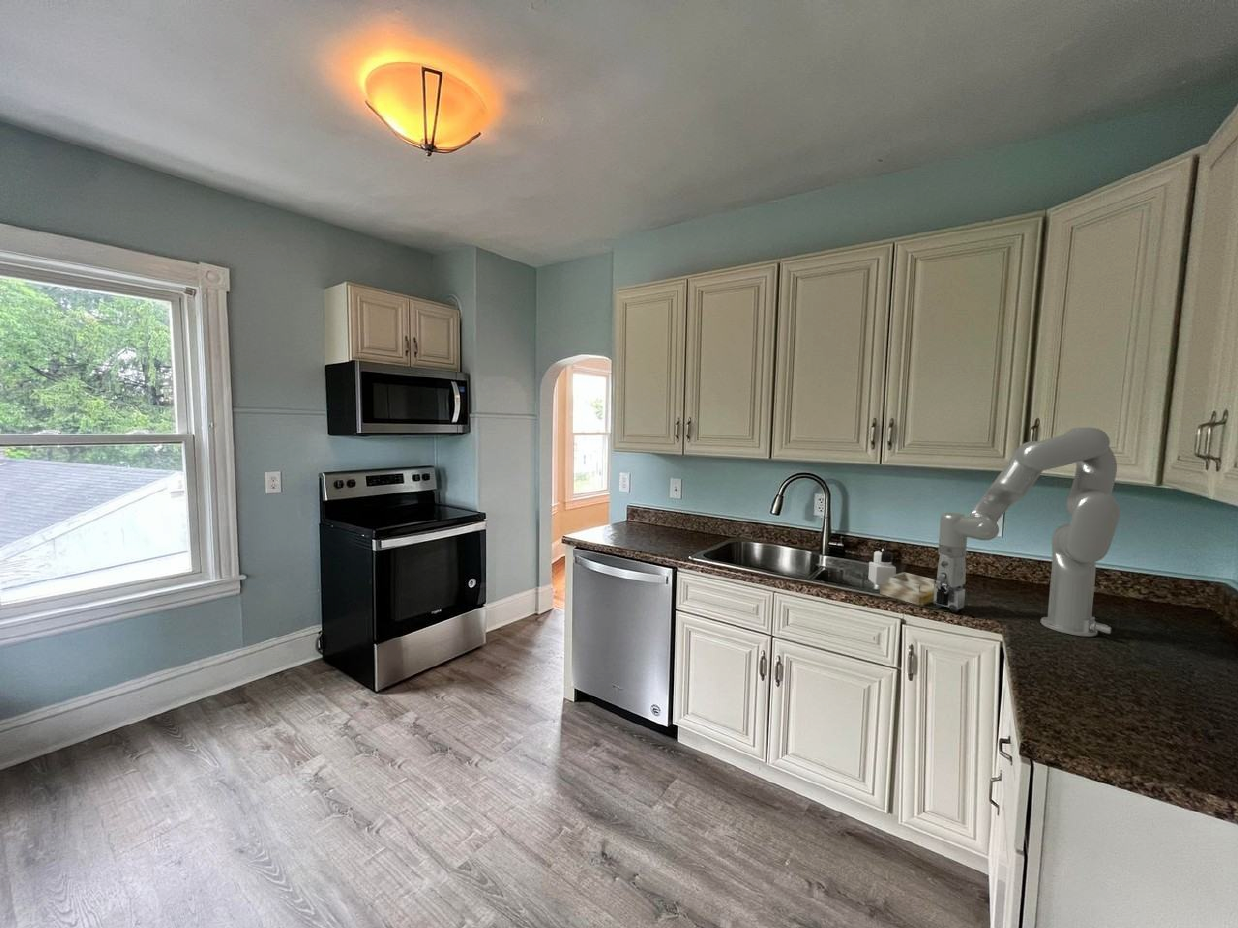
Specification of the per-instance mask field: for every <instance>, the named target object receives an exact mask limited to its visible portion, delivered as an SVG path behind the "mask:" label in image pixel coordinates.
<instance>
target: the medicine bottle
mask: <svg viewBox="0 0 1238 928" xmlns="http://www.w3.org/2000/svg"><path fill="white" fill-rule="evenodd" d="M892 559H893V554H892V553H891V552H889V551H884V550H876V551H874V552H873V561H869V562H868V563H869V564H868V580H869V581H870V582H872V583H873V584H874V585H876V586H881V585H885V584H886V583H887V577H889V576H893V575H896V574H897V572H896V571H897V568H896V566H895V565H893V564H892V563H893V562H892Z"/></svg>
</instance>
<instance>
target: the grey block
mask: <svg viewBox="0 0 1238 928" xmlns="http://www.w3.org/2000/svg"><path fill="white" fill-rule="evenodd" d="M936 586H937V585H935V589H934V602H933V606H934V607H935V608H936V609H941V608H943V607H946V608H948V609H949V611H950V612H951V613H957V612H959V611H962V610H964V608H965V600H966V599H965V598H966V597H965V596H966V588H964V587H962V588H959V587H955V588H951V586H950V587H949V590H948V592H947V594H949V595H948V606H944V605H940V604H937V603H936V599H937V587H936ZM943 587H944V586H943ZM945 588H946V587H944V589H945Z"/></svg>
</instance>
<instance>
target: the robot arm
mask: <svg viewBox="0 0 1238 928" xmlns="http://www.w3.org/2000/svg"><path fill="white" fill-rule="evenodd" d="M1110 443H1111V440H1110V437H1109V436H1108V434H1107V433H1106V432H1105V431H1103V430H1102V429H1099V428H1095V427H1074V428H1071V429H1069V430H1067V431H1066V432H1065V433H1064V434H1061V435H1058V436H1054V437H1050V438H1047V439H1046V438H1045V439H1043V440H1042V439H1041V440H1038V441H1037V440H1034V441H1033V440H1031V441H1027V442H1024V443H1022V444H1021V445H1020V446H1018V448H1017V449H1016V450H1014V451H1015V452H1014V453H1013V454H1012V456H1011V457H1010V459H1009V460H1008V461H1007V463H1006V465H1005V466H1004V467H1003V469H1002V470H1001V472H1000V473H999V474H998V476H997V477H996V479H995V480H994V482H993V483H992V484H991V485H990V487H989V489H987V491H986V492H985V493H984V495H982V497H980V500H979V501H978V503H977V504H976V505H975V506H974V508H973V510H971V512H970V514H969V515H968V516H967V515H966V514H963V513H958V512H944V513H942V514H941V515H940V521H939V524H940V526H939V537H938V538H939V540H938V555H939V559H938V565H937V575H936V580H935V584H937V586H936V587H937V599H936V603H937V604H940V605H944V606H943V607H945V606H948V595H949V594H947V592H948V590H949V587H950V586H951V588H955V587H959V588H964V587H963V586H964V585H965V584H966V582H967V581H966V579H967V577H966V576H967V575H966V574H967V573H966V572H967V571H966V567H967V566H966V562H967V561H966V557H967V546H968V538H970V539H975V540H979V541H991V540H994V539H995V538H997V537H998V535H999V534H1000V526H999V525H998V522H999V521H1000V519H1001V518H1002V516H1003V514H1005V512H1006V511H1007V510H1008V509H1009V508H1010V507H1011V506H1012V505H1013V504H1015V503H1016V502H1019V501H1020V500H1022V499H1023V498H1024V497H1025V496H1026V495H1027V494H1028V492H1029V491H1030V489H1031V488H1032V486H1033V485H1034V484H1035V482H1036V481H1037V479H1038V478H1039V476H1040V475H1042V473H1043V471H1047V470H1051V469H1054V468H1055V469H1056V468H1059V467H1060V468H1061V467H1064V466H1067V465H1071V464H1075V465H1076V467H1075V473H1074V478H1073V482H1072V485H1071V488H1070V492H1069V495H1068V497H1067V500H1066V502H1065V507H1066V508H1065V509H1066V510H1067V512H1068V513H1069V514H1070V515H1071V518H1070V521H1069V523H1064V524H1062V525H1060V526H1059V527H1057V528H1056V529H1055V531H1054V532H1053V535H1052V539H1051V555H1052V556H1051V557H1052V560H1051V561H1052V562H1051V574H1050V584H1049V585H1050V586H1049V597H1048V608H1047V609H1048V610H1047V616H1043V617H1041V618H1040V623H1041V625H1043V626H1044V627H1046V628H1047V629H1051V630H1053V631H1055V632H1060V633H1062V634H1067V635H1072V636H1078V637H1095V636H1097V635H1098V631H1099V632H1101V633H1105V634H1108V635H1110V634H1111V633H1112V627H1111V626H1109V625H1108V624H1105V623H1100V622H1097V621H1095V620H1096V618H1095V616H1093V615H1092V613H1093V603H1094V601H1093V600H1094V592H1095V591H1094V590H1095V581H1096V562H1099V561H1100V560H1103V558H1105V557H1106V555H1107V554H1108V552H1109V551H1110V548H1111V545H1112V542H1113V539H1114V536H1115V533H1116V529H1117V526H1118V523H1119V522H1120V521H1119V520H1120V517H1121V508H1120V505H1119V502H1118V501H1117V500H1116V499H1115V498H1114V497H1113V495H1112V494H1113V489H1114V487H1115V480H1116V476H1117V471H1118V463H1117V458H1116V456H1115V454H1114V452H1113V450H1112V449H1111V447H1110ZM943 586H944V587H946V588H945V589H944V587H943Z"/></svg>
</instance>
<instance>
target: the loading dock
mask: <svg viewBox="0 0 1238 928" xmlns="http://www.w3.org/2000/svg"><path fill="white" fill-rule="evenodd" d="M935 585H937V584H936V579H934V578H929V577H924V576H920V575H916V574H912V573H908V572H905V571H904V572H903V571H902V572H900V573H896V575H893V576H889V577H887V583H886V584H885V585H880V589H879V595H883V596H886V597H889V598H892V599H895V600H899V601H903V602H906V603H910V604H914V605H918V606H920V607H923V606H926V605H928V604H930V603H931V604H932V603H934V589H935Z"/></svg>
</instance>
